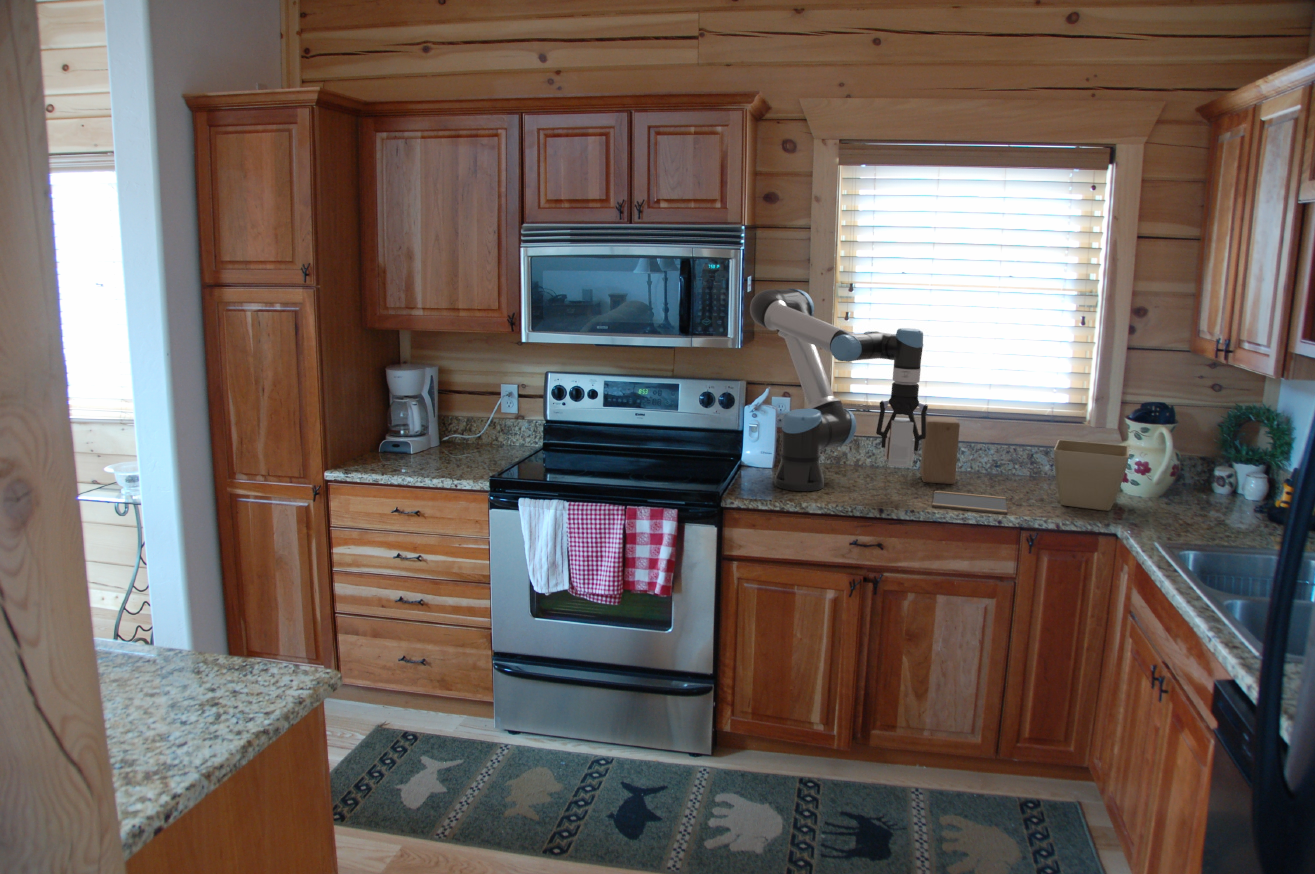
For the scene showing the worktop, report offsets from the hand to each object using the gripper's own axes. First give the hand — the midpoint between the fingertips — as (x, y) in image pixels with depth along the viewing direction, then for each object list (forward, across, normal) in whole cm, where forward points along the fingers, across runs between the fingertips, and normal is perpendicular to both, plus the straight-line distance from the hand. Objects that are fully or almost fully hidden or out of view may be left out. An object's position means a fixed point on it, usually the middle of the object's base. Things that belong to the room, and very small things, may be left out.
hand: (898, 459), depth 261 cm
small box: (+1, 0, 0) cm, 1 cm away
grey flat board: (+11, +21, 0) cm, 23 cm away
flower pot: (+11, +53, +14) cm, 56 cm away
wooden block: (+12, +11, +26) cm, 31 cm away
